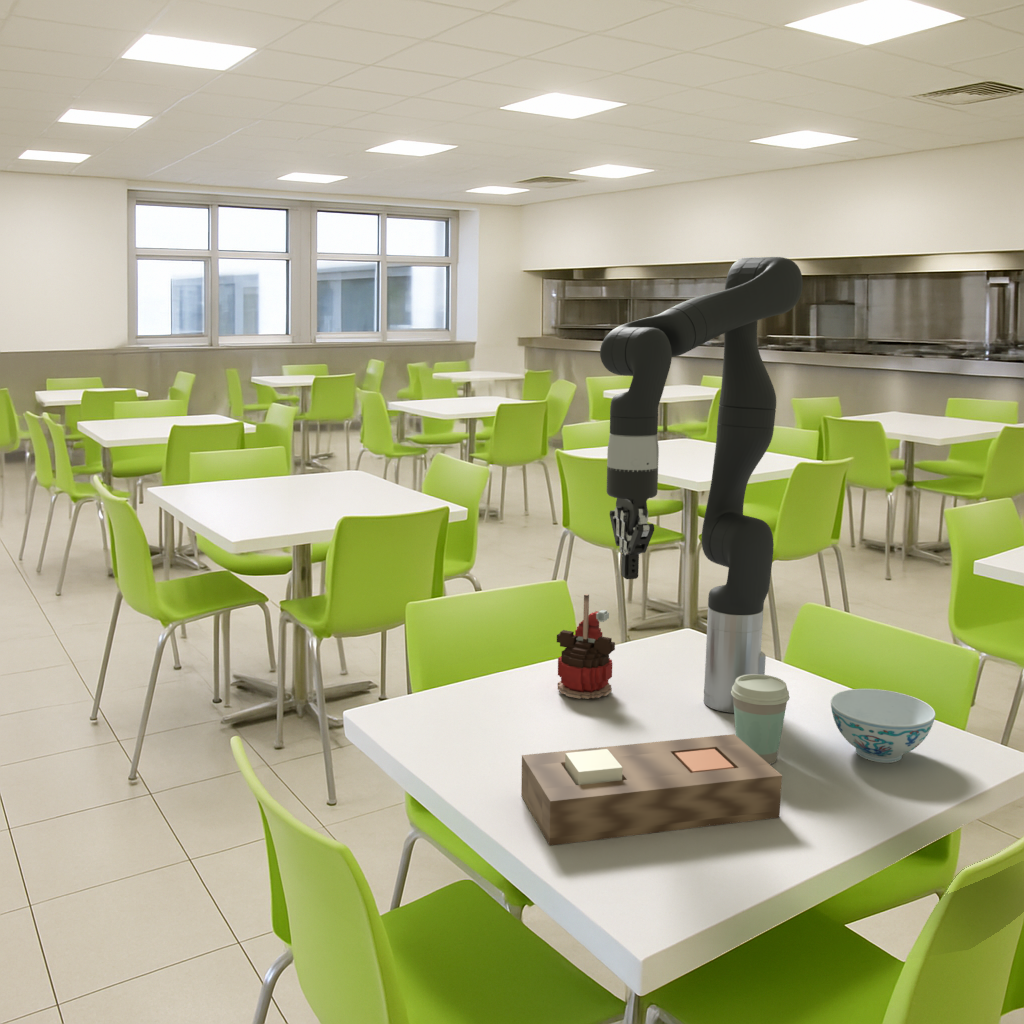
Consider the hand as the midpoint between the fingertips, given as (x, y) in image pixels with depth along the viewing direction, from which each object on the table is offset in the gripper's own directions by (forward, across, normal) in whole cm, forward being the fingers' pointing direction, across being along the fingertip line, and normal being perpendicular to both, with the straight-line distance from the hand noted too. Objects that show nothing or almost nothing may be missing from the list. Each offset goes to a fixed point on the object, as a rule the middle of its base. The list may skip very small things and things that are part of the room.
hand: (629, 577), depth 153 cm
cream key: (+23, -20, +12) cm, 33 cm away
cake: (+27, +23, -1) cm, 36 cm away
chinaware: (+27, -12, -37) cm, 47 cm away
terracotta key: (+25, -20, -4) cm, 32 cm away
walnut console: (+27, -20, +4) cm, 34 cm away
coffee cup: (+27, -9, -18) cm, 34 cm away
